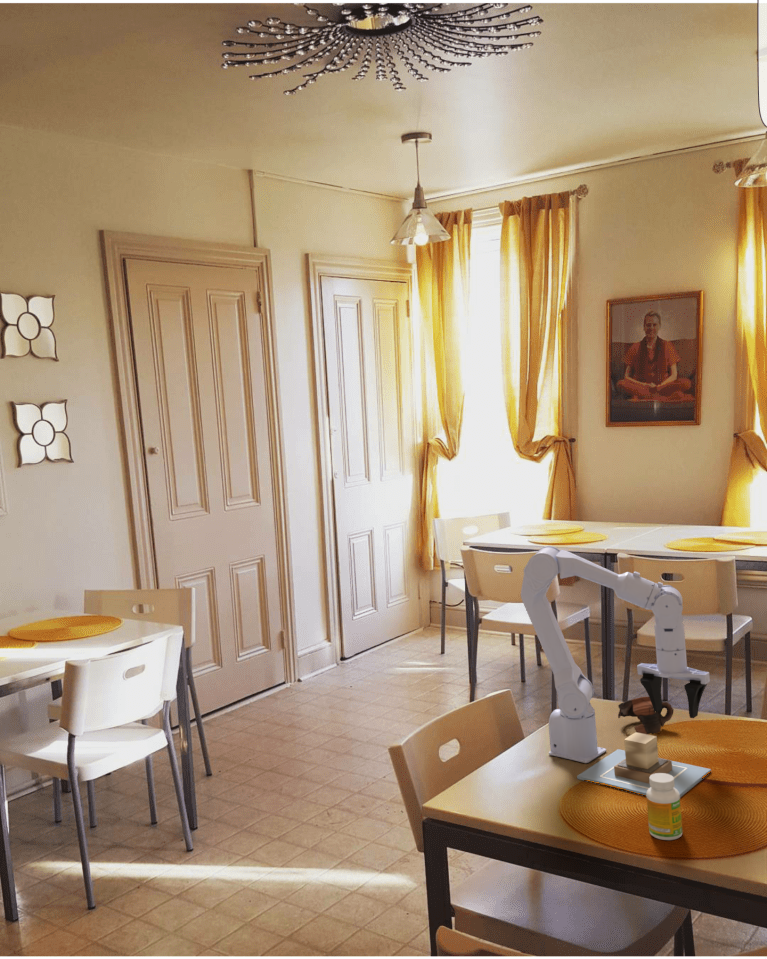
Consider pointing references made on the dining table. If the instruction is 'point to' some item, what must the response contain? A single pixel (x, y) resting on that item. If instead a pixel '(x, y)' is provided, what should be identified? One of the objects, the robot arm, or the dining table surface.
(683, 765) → the board
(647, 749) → the oak block
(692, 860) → the dining table surface
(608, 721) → the dining table surface
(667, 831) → the supplement bottle
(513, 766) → the dining table surface
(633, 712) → the pottery mug
